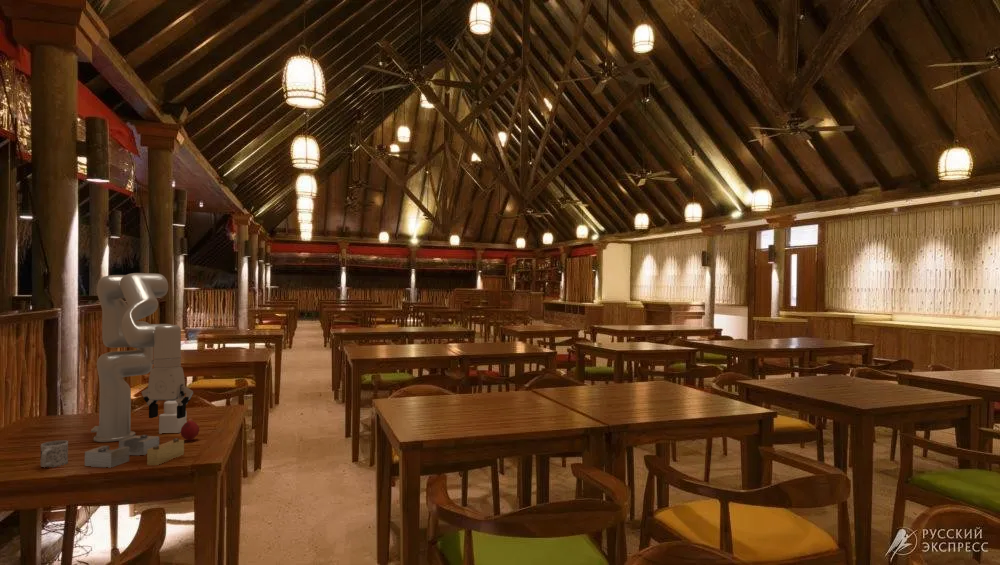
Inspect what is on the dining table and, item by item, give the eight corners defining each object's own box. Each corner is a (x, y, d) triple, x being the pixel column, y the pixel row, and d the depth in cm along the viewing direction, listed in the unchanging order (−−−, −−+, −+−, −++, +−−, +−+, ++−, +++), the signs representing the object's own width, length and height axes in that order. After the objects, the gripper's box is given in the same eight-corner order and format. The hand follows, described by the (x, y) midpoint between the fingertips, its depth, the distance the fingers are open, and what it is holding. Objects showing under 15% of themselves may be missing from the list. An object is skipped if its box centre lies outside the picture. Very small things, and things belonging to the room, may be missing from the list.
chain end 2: (118, 454, 186) (118, 439, 187) (135, 448, 193) (135, 433, 194) (143, 455, 185) (143, 439, 185) (159, 449, 192) (159, 434, 192)
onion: (190, 443, 200) (191, 420, 200) (176, 442, 201) (177, 420, 202) (202, 439, 206) (202, 417, 206) (188, 438, 207) (189, 416, 207)
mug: (47, 462, 178) (48, 441, 178) (72, 460, 180) (72, 439, 180) (29, 472, 168) (29, 449, 169) (55, 470, 170) (55, 448, 170)
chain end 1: (84, 466, 174) (84, 449, 174) (103, 459, 181) (103, 443, 181) (111, 467, 172) (111, 450, 172) (129, 460, 179) (129, 444, 179)
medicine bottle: (167, 429, 221) (168, 398, 221) (186, 429, 222) (187, 398, 222) (158, 434, 214) (158, 402, 214) (178, 433, 215) (178, 401, 215)
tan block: (147, 465, 175) (147, 447, 175) (174, 454, 187) (174, 437, 187) (157, 466, 175) (157, 447, 175) (183, 455, 187) (184, 438, 187)
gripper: (133, 365, 179) (133, 419, 178) (184, 364, 177) (184, 420, 176) (151, 362, 186) (151, 414, 186) (200, 362, 184) (199, 415, 183)
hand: (167, 417), depth 181 cm, fingers open, 9 cm apart
